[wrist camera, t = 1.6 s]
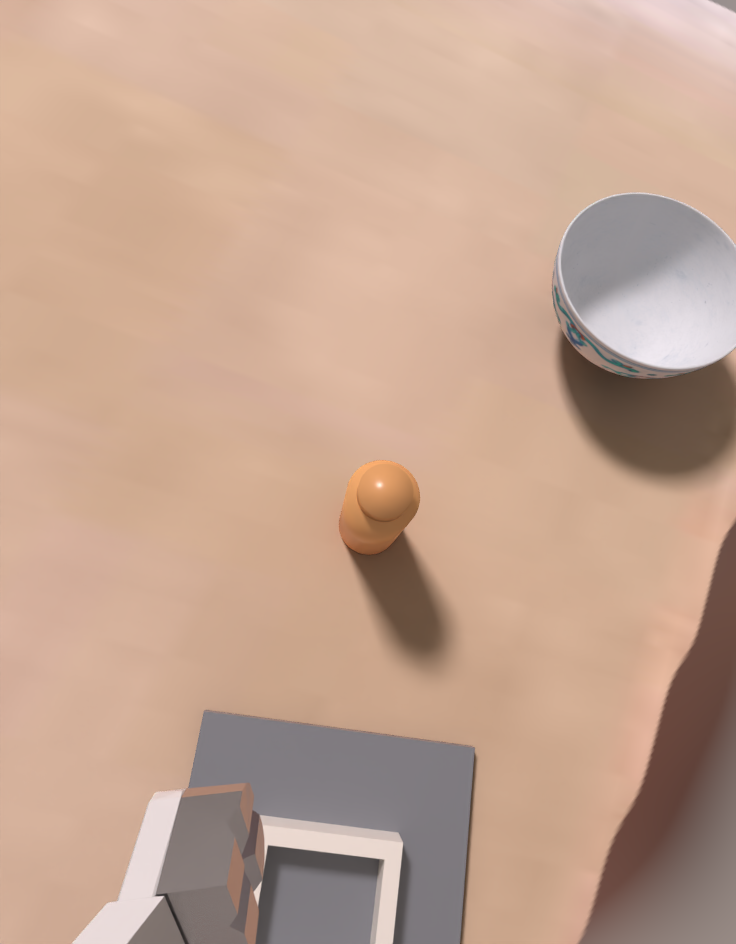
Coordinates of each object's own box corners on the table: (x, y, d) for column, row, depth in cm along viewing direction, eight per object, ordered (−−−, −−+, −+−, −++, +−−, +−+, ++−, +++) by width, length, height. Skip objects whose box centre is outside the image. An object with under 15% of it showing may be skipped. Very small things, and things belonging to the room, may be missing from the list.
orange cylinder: (334, 550, 43) (342, 521, 33) (343, 492, 44) (353, 448, 34) (394, 558, 43) (419, 533, 33) (401, 501, 44) (427, 460, 35)
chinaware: (494, 359, 48) (527, 308, 41) (558, 229, 53) (599, 161, 46) (659, 442, 48) (723, 405, 40) (710, 303, 52) (777, 247, 45)
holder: (129, 1089, 33) (113, 1128, 30) (206, 709, 39) (198, 714, 36) (442, 1120, 34) (454, 1161, 31) (471, 745, 40) (483, 753, 37)
